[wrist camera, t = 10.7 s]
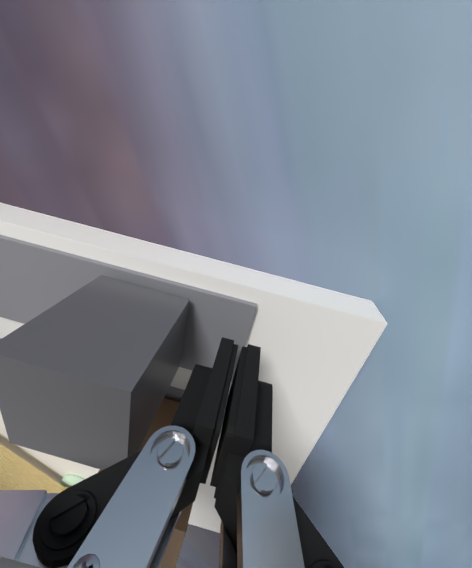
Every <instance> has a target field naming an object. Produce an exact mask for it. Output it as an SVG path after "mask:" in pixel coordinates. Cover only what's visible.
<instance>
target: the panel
mask: <svg viewBox="0 0 472 568" xmlns="http://www.w3.org/2000/svg"><path fill="white" fill-rule="evenodd" d="M100 275H103V276H107V277H110V278H114V279H118V280H122V281H125V282H129V283H133V284H136V285H140V286H144V287H147V288H151V289H155V290H159V291H162V292H166V293H170V294H173V295H177V296H181V297H184V298H188V299H190V303H189V309H188V315H187V321H186V327H185V333H184V339H183V345H182V351H181V357H180V363H179V368H178V370H177V372H176V374H175V376H174V378H173V380H172V382H171V385H170V387H169V389H168V391H167V393H166V395H165V397H164V398H166V399H169V400H173V401H176V402H180V401H181V398H182V396H183V393H184V391H185V388H186V386H187V383H188V381H189V378H190V376H191V373H192V371H193V368H194V366H195V364H198V365H202V366H206V367H210V368H213V365H214V361H215V358H216V355H217V352H218V348H219V345H220V342H221V339H222V337H224V338H227V339H231V340H234V344H236V345H238V350H237V355H236V360H235V365H234V370H233V375H232V379H231V384H232V380H233V377H234V373H235V370H236V366H237V363H238V359H239V356H240V352H241V349H242V346H244V347H247V345H248V344H250V345H254V346H258V347H261V353H260V366H259V378H258V381H262V382H266V383H270V384H272V386H273V402H272V453H273V454H275V455H276V456H277V457H278V458H279V459H280V460H281V461H282V462H283V464H284V466H285V467H286V469H287V472H288V475H289V479H290V485H291V484H292V482H293V481H294V479H295V477H296V476H297V474H298V472H299V471H300V469H301V467H302V466H303V464H304V462H305V461H306V459H307V457H308V456H309V454H310V452H311V451H312V449H313V447H314V446H315V444H316V442H317V441H318V439H319V437H320V436H321V434H322V432H323V431H324V429H325V427H326V426H327V424H328V422H329V421H330V419H331V417H332V416H333V414H334V412H335V411H336V409H337V407H338V406H339V404H340V402H341V401H342V399H343V397H344V396H345V394H346V392H347V391H348V389H349V387H350V386H351V384H352V382H353V381H354V379H355V377H356V376H357V374H358V372H359V371H360V369H361V367H362V366H363V364H364V362H365V361H366V359H367V357H368V356H369V354H370V352H371V351H372V349H373V347H374V346H375V344H376V342H377V341H378V339H379V337H380V336H381V334H382V332H383V331H384V329H385V327H386V325H387V324H388V323H387V322H386V321H385V319H384V318H383V316H382V315H381V313H380V312H379V311H378V309H377V308H376V306H375V305H374V303H373V302H372V301H370V300H367V299H363V298H359V297H355V296H351V295H348V294H344V293H340V292H336V291H333V290H329V289H325V288H321V287H317V286H314V285H310V284H306V283H302V282H299V281H295V280H291V279H287V278H283V277H280V276H276V275H272V274H268V273H265V272H261V271H257V270H253V269H250V268H246V267H242V266H238V265H234V264H231V263H227V262H223V261H219V260H216V259H212V258H208V257H204V256H200V255H197V254H193V253H189V252H185V251H182V250H178V249H174V248H170V247H166V246H163V245H159V244H155V243H151V242H148V241H144V240H140V239H136V238H132V237H129V236H125V235H121V234H117V233H114V232H110V231H106V230H102V229H98V228H95V227H91V226H87V225H83V224H80V223H76V222H72V221H68V220H64V219H61V218H57V217H53V216H49V215H46V214H42V213H38V212H34V211H30V210H27V209H23V208H19V207H15V206H12V205H8V204H4V203H0V339H2V338H4V337H5V336H7V335H8V334H10V333H11V332H13V331H15V330H16V329H18V328H19V327H21V326H22V325H24V324H25V323H27V322H29V321H30V320H32V319H33V318H35V317H36V316H38V315H40V314H41V313H43V312H44V311H46V310H47V309H49V308H50V307H52V306H54V305H55V304H57V303H58V302H60V301H61V300H63V299H65V298H66V297H68V296H69V295H71V294H72V293H74V292H75V291H77V290H79V289H80V288H82V287H83V286H85V285H86V284H88V283H90V282H91V281H93V280H94V279H96V278H97V277H99V276H100ZM231 384H230V387H231ZM229 391H230V389H229ZM228 395H229V394H228ZM227 400H228V399H227ZM222 424H223V423H222ZM221 429H222V428H221ZM220 434H221V432H220ZM219 439H220V436H219ZM219 439H218V443H217V446H216V449H215V453H214V456H213V460H212V463H211V467H210V470H209V473H208V477H207V480H206V484H202V483H200V484H199V488H198V492H197V495H196V499H195V501H194V502H193V505H192V509H191V513H190V517H189V521H188V524H191V525H195V526H198V527H201V528H205V529H208V530H211V531H215V532H218V533H220V525H221V518H220V517H219V515H218V513H217V511H216V509H215V507H214V506H215V500H216V499H215V498H214V494H215V489H216V487H213V486H210V483H211V478H212V473H213V468H214V463H215V458H216V454H217V449H218V444H219ZM0 444H1V445H3V446H4V447H6V448H7V449H9V450H10V451H12V452H13V453H15V454H16V455H18V456H19V457H21V458H22V459H24V460H25V461H27V462H28V463H30V464H31V465H33V466H34V467H36V468H37V469H39V470H40V471H42V472H43V473H45V474H46V475H48V476H49V477H51V478H52V479H54V480H55V481H56V482H58V483H59V484H61V485H62V486H64V487H68V488H69V487H71V486H73V485H75V484H77V483H79V482H81V481H83V480H84V479H86V478H88V477H90V476H92V475H94V474H96V473H98V471H99V470H100V469H97V468H93V467H90V466H87V465H83V464H80V463H76V462H73V461H70V460H66V459H63V458H59V457H56V456H53V455H49V454H46V453H42V452H39V451H36V450H32V449H29V448H25V447H22V446H18V445H15V444H12V443H10V442H9V439H8V435H7V432H6V428H5V425H4V421H3V418H2V414H1V411H0Z"/></svg>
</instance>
